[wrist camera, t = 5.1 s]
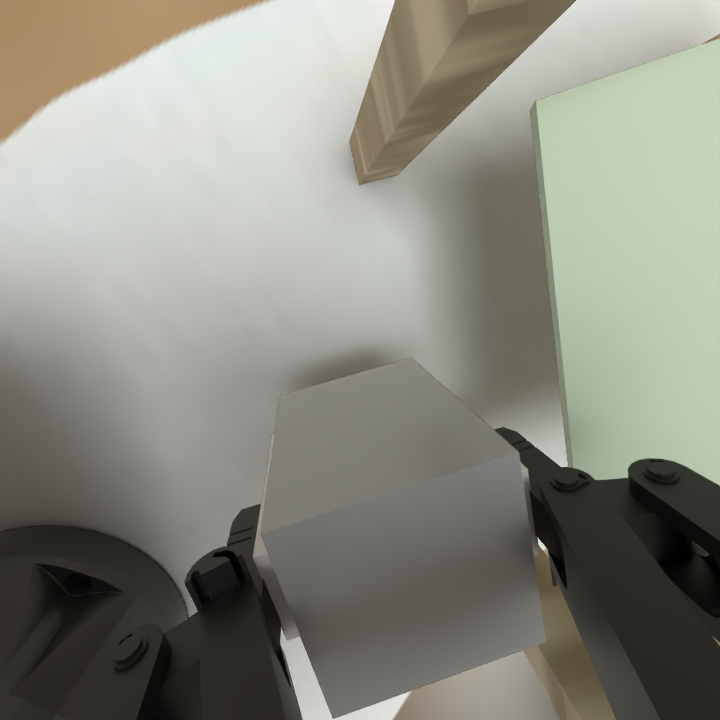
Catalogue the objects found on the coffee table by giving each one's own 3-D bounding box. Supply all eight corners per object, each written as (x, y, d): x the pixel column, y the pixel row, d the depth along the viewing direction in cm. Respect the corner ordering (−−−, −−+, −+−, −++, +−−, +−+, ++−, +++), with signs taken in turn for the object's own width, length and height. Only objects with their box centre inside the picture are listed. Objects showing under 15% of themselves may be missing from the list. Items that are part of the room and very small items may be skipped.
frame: (425, 469, 24) (617, 826, 9) (349, 141, 19) (507, -349, 4) (700, 387, 25) (1295, 584, 10) (702, 54, 20) (1992, -619, 5)
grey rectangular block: (317, 508, 17) (333, 718, 9) (280, 395, 15) (259, 534, 7) (435, 471, 17) (546, 642, 9) (411, 357, 16) (518, 452, 8)
